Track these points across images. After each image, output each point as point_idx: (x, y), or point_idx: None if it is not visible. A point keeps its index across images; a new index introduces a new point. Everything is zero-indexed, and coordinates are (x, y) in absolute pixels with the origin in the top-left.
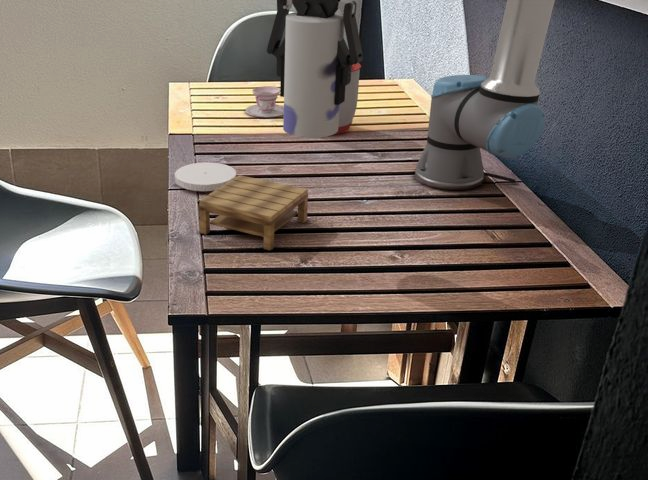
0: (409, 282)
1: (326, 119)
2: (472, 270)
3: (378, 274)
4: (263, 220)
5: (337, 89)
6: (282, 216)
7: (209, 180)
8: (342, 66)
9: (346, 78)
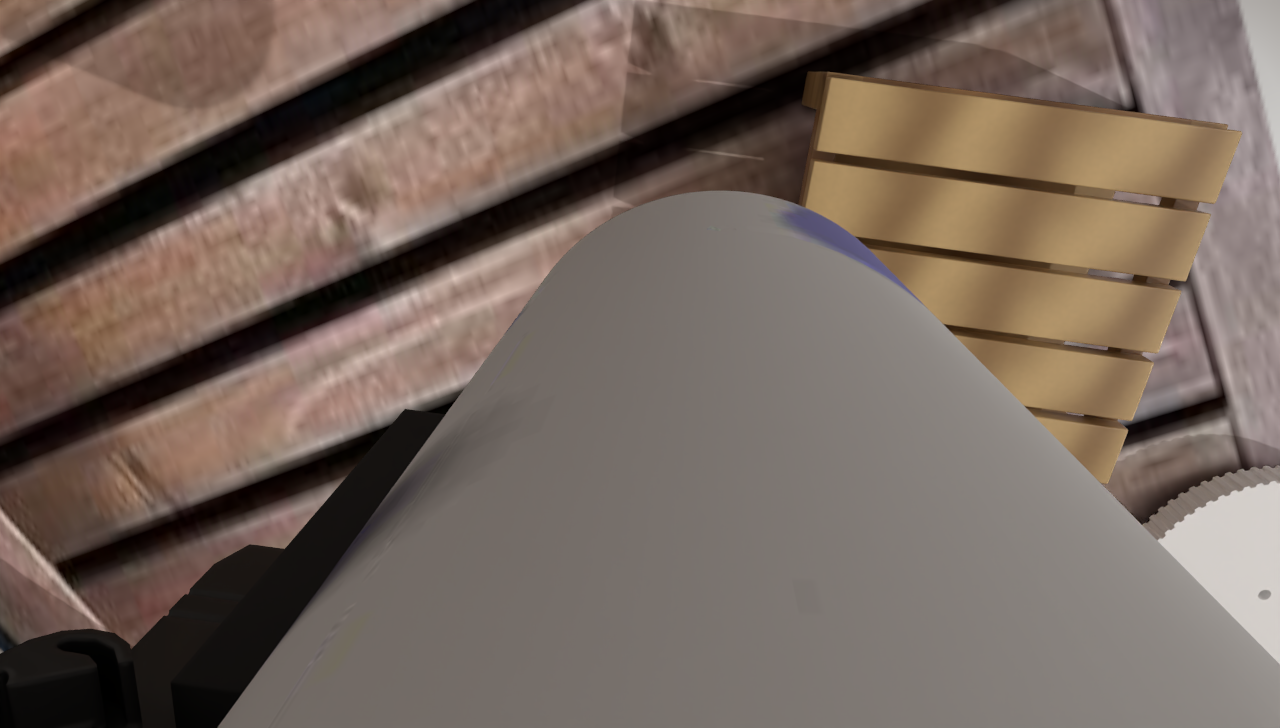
0: (238, 20)
1: (525, 306)
2: (95, 203)
3: (358, 38)
4: (866, 77)
5: (364, 489)
6: (801, 188)
7: (1230, 533)
8: (114, 683)
9: (203, 602)
